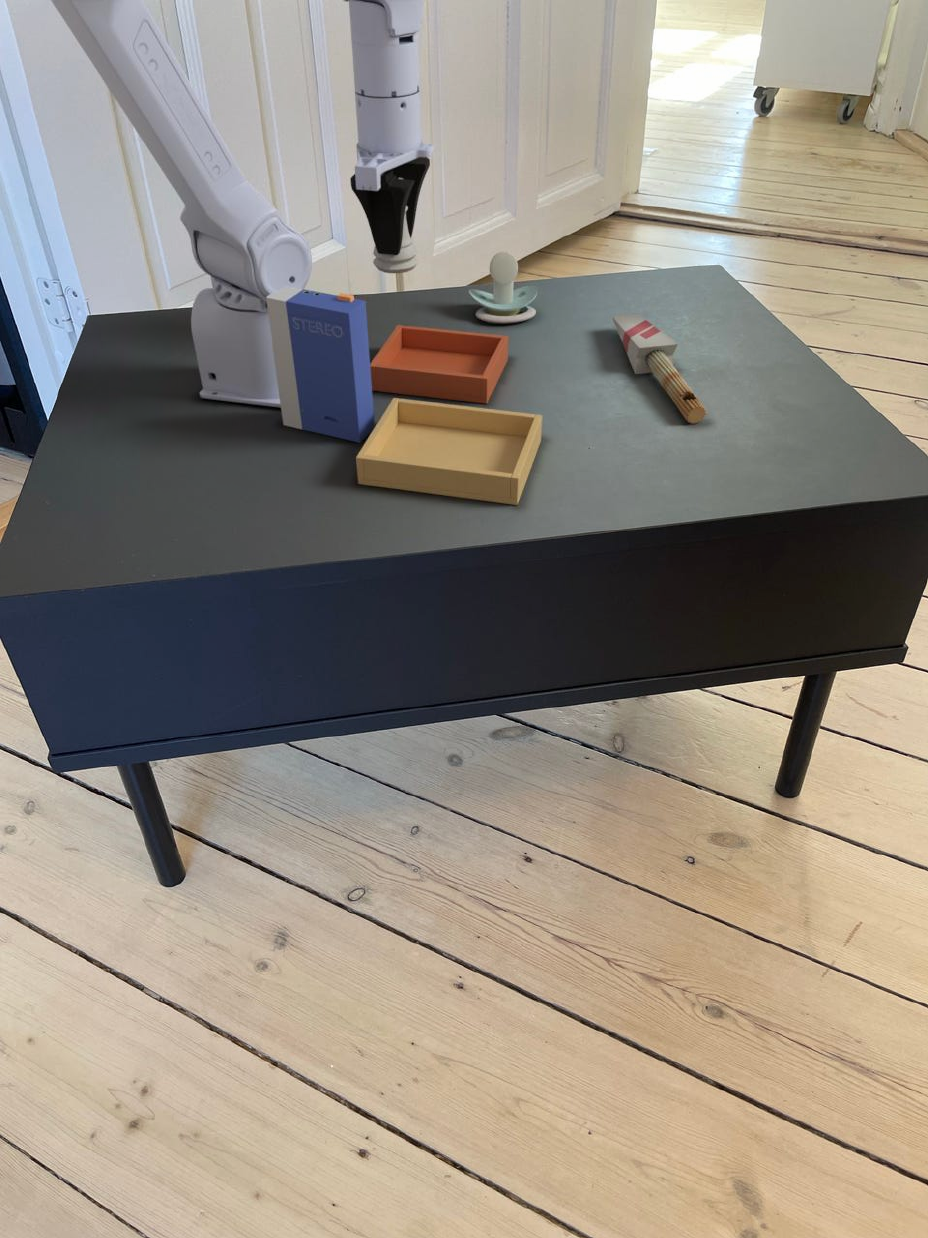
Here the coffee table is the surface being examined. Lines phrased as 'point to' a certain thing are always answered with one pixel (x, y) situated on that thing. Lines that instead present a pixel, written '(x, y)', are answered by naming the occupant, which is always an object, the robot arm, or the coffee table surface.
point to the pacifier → (504, 293)
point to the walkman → (322, 362)
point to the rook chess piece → (401, 261)
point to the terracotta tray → (440, 363)
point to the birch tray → (451, 450)
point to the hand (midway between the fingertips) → (394, 245)
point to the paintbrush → (657, 361)
